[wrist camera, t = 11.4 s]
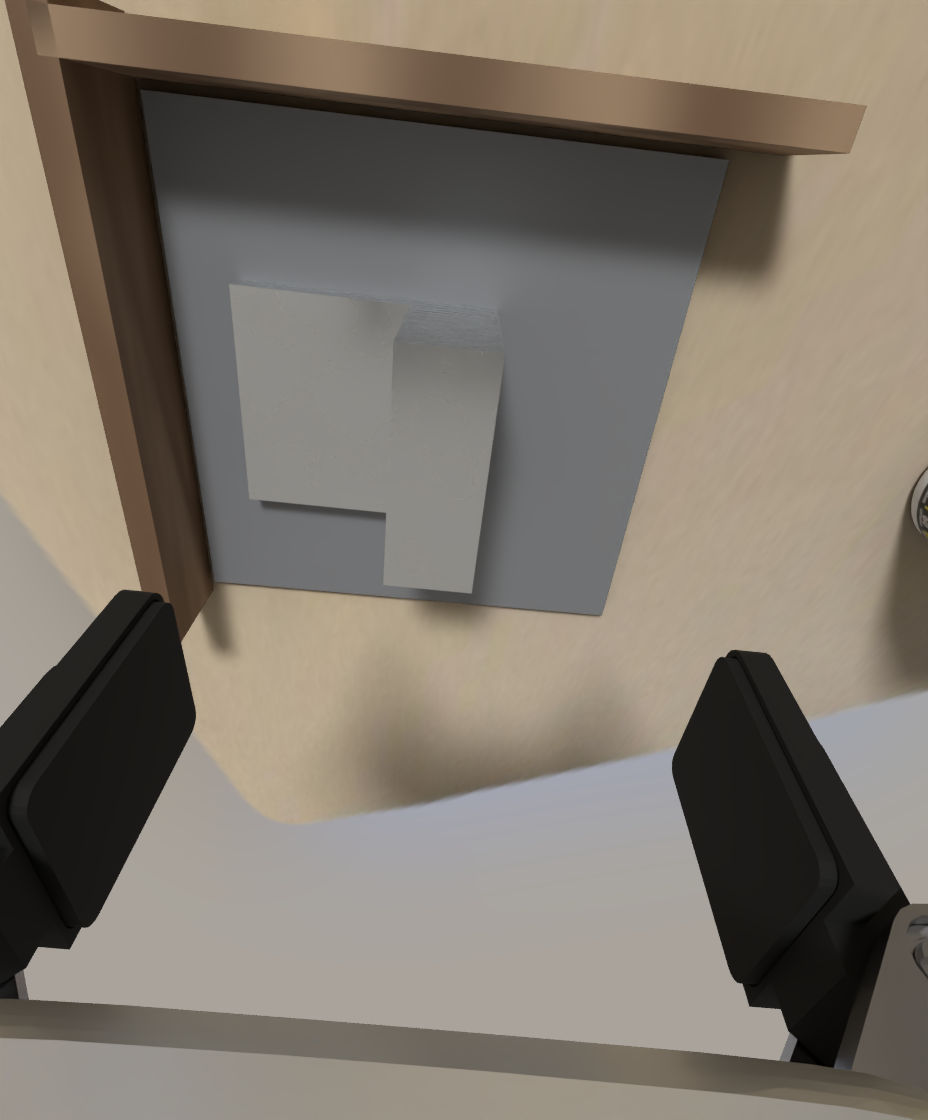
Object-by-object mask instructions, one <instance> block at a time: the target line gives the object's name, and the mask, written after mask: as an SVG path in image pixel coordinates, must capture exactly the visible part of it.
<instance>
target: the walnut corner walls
mask: <svg viewBox="0 0 928 1120" xmlns="http://www.w3.org/2000/svg"><path fill="white" fill-rule="evenodd" d="M5 3H6V8H7V12H8V16H9V21H10V25H11V29H12V34H13V38H14V42H15V46H16V51H17V55H18V59H19V64H20V68H21V72H22V77H23V81H24V85H25V90H26V94H27V98H28V102H29V107H30V111H31V115H32V120H33V124H34V128H35V133H36V137H37V141H38V146H39V150H40V154H41V159H42V163H43V167H44V171H45V176H46V180H47V184H48V189H49V193H50V197H51V202H52V206H53V210H54V215H55V219H56V223H57V228H58V232H59V236H60V240H61V245H62V249H63V253H64V258H65V262H66V266H67V271H68V275H69V279H70V284H71V288H72V292H73V296H74V301H75V305H76V309H77V314H78V318H79V322H80V327H81V331H82V335H83V340H84V344H85V348H86V353H87V357H88V361H89V365H90V370H91V374H92V378H93V383H94V387H95V391H96V396H97V400H98V404H99V409H100V413H101V417H102V422H103V426H104V430H105V434H106V439H107V443H108V447H109V452H110V456H111V460H112V465H113V469H114V473H115V478H116V482H117V486H118V490H119V495H120V499H121V503H122V508H123V512H124V516H125V521H126V525H127V529H128V534H129V538H130V542H131V547H132V551H133V555H134V559H135V564H136V568H137V572H138V577H139V581H140V585H141V590H142V592H152V593H158V594H160V595H161V596H162V597H163V600H164V602H166V603H171V605H172V606H173V609H174V613H175V617H176V622H177V626H178V631H179V636H180V640H181V641H182V640H183V638H184V637H185V635H186V633H187V632H188V630H189V628H190V627H191V625H192V624H193V622H194V620H195V619H196V617H197V615H198V614H199V612H200V611H201V609H202V607H203V606H204V604H205V602H206V601H207V599H208V598H209V596H210V594H211V593H212V591H213V585H212V579H211V572H210V566H209V559H208V553H207V546H206V540H205V533H204V527H203V520H202V514H201V507H200V501H199V494H198V488H197V481H196V475H195V468H194V462H193V455H192V449H191V442H190V436H189V429H188V423H187V416H186V410H185V403H184V397H183V390H182V383H181V377H180V370H179V364H178V357H177V351H176V344H175V338H174V331H173V325H172V318H171V312H170V305H169V299H168V292H167V286H166V279H165V273H164V266H163V260H162V253H161V247H160V240H159V234H158V227H157V221H156V214H155V208H154V201H153V195H152V188H151V182H150V175H149V169H148V162H147V156H146V149H145V142H144V136H143V129H142V123H141V116H140V110H139V103H138V97H137V90H136V84H135V77H137V78H145V79H153V80H162V81H170V82H178V83H187V84H195V85H203V86H211V87H220V88H228V89H236V90H245V91H253V92H261V93H269V94H278V95H286V96H294V97H303V98H311V99H319V100H328V101H336V102H344V103H352V104H361V105H369V106H377V107H386V108H394V109H402V110H410V111H419V112H427V113H435V114H444V115H452V116H460V117H469V118H477V119H485V120H493V121H502V122H510V123H518V124H527V125H535V126H543V127H551V128H560V129H568V130H576V131H585V132H593V133H601V134H610V135H618V136H626V137H634V138H643V139H651V140H659V141H668V142H676V143H684V144H692V145H701V146H709V147H717V148H726V149H734V150H742V151H751V152H759V153H767V154H775V155H784V156H785V155H816V154H846V153H850V151H851V148H852V145H853V143H854V140H855V137H856V134H857V132H858V129H859V126H860V124H861V121H862V118H863V115H864V113H865V110H866V107H867V106H865V105H857V104H849V103H841V102H833V101H825V100H817V99H809V98H801V97H793V96H785V95H777V94H769V93H761V92H753V91H745V90H737V89H729V88H721V87H713V86H705V85H697V84H689V83H681V82H673V81H665V80H657V79H649V78H640V77H632V76H624V75H616V74H608V73H600V72H592V71H584V70H576V69H568V68H560V67H552V66H544V65H536V64H528V63H520V62H512V61H504V60H496V59H488V58H480V57H472V56H464V55H456V54H448V53H440V52H432V51H424V50H416V49H408V48H400V47H392V46H384V45H376V44H368V43H360V42H352V41H344V40H336V39H328V38H320V37H312V36H304V35H296V34H288V33H280V32H272V31H264V30H256V29H248V28H240V27H232V26H224V25H216V24H208V23H200V22H192V21H183V20H175V19H167V18H159V17H151V16H143V15H135V14H127V13H125V12H124V11H122V10H120V9H118V8H115V7H113V6H111V5H109V4H106V3H104V2H102V1H100V0H5Z"/></svg>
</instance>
